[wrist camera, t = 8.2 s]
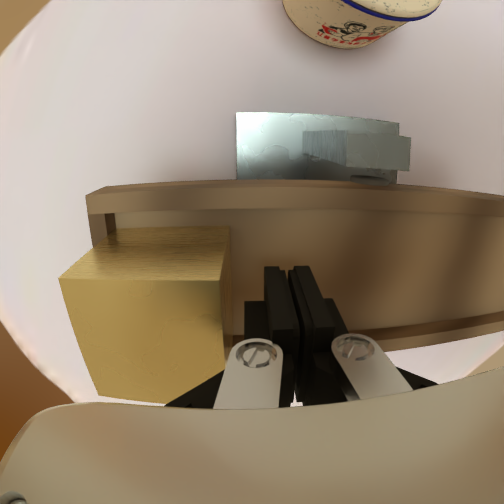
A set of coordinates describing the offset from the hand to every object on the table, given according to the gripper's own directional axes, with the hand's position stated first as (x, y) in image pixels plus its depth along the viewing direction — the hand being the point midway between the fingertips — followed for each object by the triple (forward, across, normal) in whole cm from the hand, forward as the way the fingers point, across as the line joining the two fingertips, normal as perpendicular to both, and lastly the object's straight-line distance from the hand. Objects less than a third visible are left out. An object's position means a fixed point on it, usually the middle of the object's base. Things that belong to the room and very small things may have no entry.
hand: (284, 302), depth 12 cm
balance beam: (+5, -4, 0) cm, 7 cm away
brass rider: (+2, +5, 0) cm, 5 cm away
